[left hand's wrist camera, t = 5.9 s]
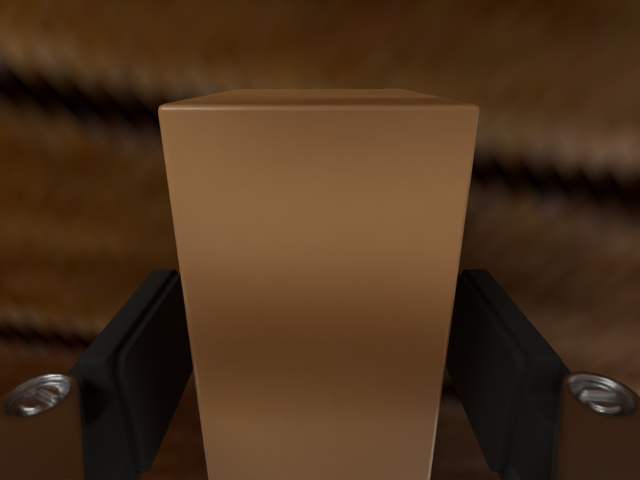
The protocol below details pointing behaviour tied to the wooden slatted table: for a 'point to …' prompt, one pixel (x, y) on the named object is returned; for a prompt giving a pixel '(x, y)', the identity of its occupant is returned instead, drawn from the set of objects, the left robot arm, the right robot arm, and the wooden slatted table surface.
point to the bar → (319, 274)
